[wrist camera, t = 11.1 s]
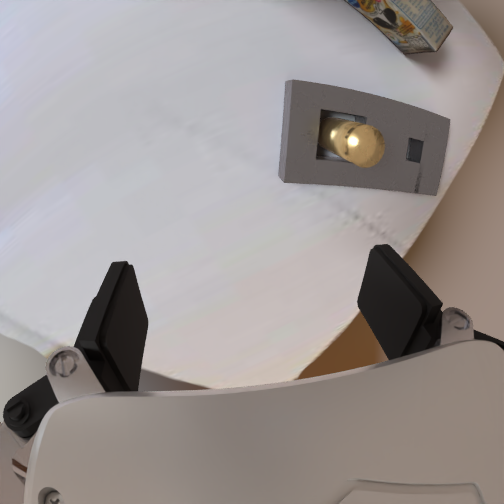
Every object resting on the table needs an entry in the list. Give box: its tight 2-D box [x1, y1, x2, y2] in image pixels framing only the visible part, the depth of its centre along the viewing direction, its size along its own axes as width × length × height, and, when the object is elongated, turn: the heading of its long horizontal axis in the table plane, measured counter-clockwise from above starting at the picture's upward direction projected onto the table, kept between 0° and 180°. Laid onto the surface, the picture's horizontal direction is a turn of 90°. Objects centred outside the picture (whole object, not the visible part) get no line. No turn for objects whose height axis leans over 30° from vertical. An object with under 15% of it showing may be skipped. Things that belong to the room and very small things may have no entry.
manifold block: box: [278, 80, 450, 196], centre depth 32 cm, size 12×24×3 cm, turn 87°
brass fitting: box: [318, 117, 385, 168], centre depth 29 cm, size 4×4×9 cm
